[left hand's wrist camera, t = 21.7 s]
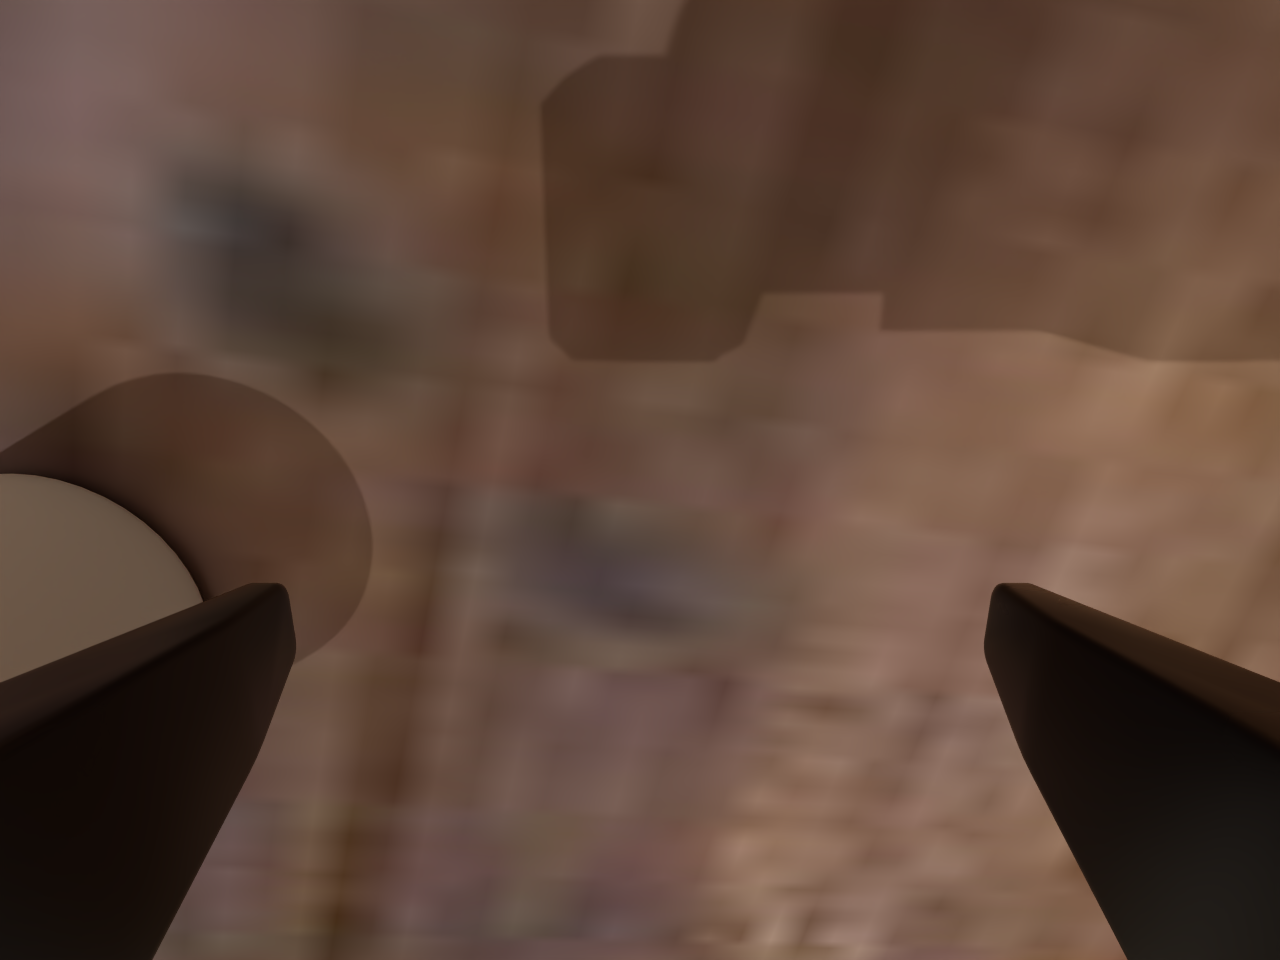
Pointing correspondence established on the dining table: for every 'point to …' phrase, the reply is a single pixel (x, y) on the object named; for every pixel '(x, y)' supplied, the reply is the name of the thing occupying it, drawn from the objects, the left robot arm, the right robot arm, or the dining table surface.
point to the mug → (77, 572)
